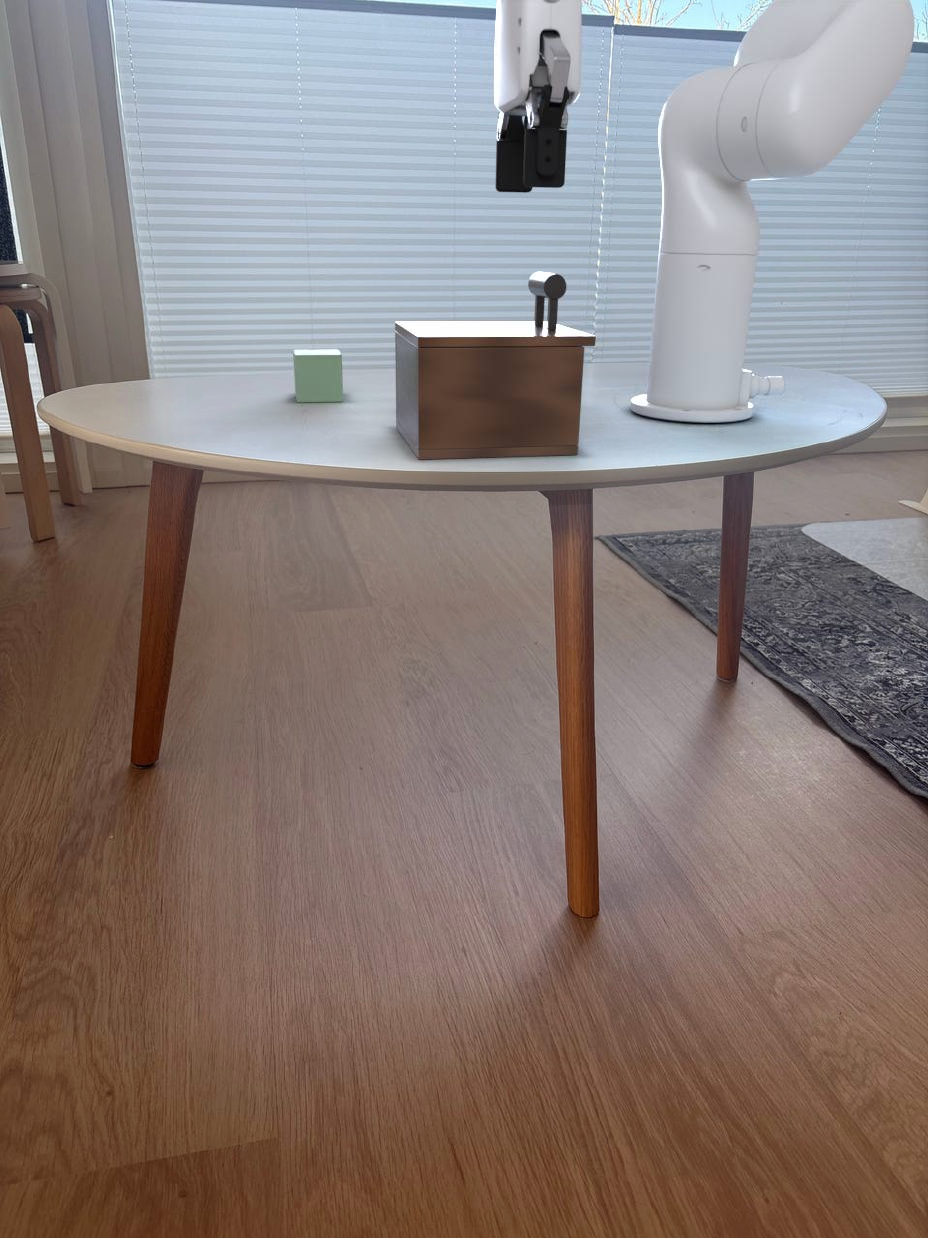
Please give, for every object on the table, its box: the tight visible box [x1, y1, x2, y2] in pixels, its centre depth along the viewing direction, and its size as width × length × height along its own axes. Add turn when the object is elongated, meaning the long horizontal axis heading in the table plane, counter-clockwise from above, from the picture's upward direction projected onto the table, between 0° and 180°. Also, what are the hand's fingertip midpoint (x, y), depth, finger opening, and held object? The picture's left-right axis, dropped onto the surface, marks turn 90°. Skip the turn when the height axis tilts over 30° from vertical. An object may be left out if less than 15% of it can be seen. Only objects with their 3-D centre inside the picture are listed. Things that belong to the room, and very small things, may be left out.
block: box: [292, 348, 344, 403], centre depth 102 cm, size 5×5×5 cm
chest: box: [394, 331, 585, 461], centre depth 82 cm, size 14×14×9 cm
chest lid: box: [394, 271, 597, 347], centre depth 79 cm, size 14×14×5 cm
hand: (527, 189), depth 77 cm, fingers open, 9 cm apart
